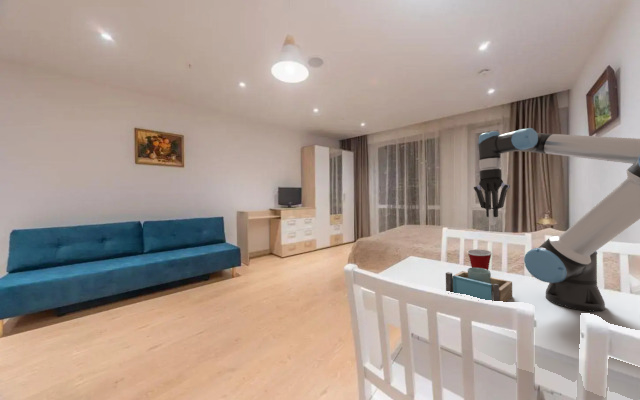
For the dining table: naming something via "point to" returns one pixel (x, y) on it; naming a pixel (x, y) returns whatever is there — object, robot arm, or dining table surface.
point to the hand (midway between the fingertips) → (492, 224)
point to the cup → (479, 274)
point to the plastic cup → (479, 258)
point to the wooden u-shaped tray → (499, 286)
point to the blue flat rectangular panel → (472, 287)
